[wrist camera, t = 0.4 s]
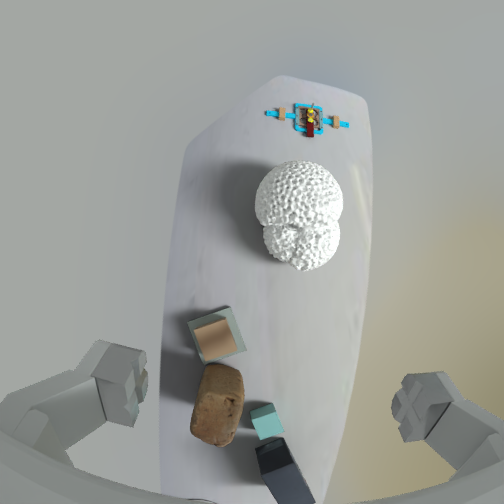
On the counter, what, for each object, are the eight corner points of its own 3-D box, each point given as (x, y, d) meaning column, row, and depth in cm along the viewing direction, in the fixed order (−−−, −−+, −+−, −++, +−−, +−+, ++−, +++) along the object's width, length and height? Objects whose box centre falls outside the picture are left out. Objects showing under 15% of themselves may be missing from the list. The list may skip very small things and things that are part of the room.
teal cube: (280, 421, 57) (284, 431, 52) (258, 429, 56) (260, 440, 51) (272, 402, 57) (276, 411, 52) (249, 410, 57) (251, 420, 52)
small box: (304, 475, 55) (317, 503, 43) (276, 486, 54) (285, 516, 42) (283, 436, 56) (294, 462, 45) (254, 447, 56) (259, 476, 44)
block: (208, 356, 58) (198, 386, 38) (244, 368, 58) (251, 402, 38) (193, 403, 56) (179, 448, 36) (228, 414, 56) (229, 462, 36)
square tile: (246, 349, 58) (246, 350, 57) (203, 363, 57) (203, 365, 56) (230, 306, 59) (230, 307, 58) (187, 321, 58) (186, 322, 57)
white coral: (231, 167, 54) (299, 164, 42) (296, 157, 64) (361, 156, 52) (245, 269, 61) (308, 292, 48) (304, 244, 71) (365, 258, 58)
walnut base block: (236, 345, 57) (237, 350, 52) (207, 355, 56) (205, 361, 52) (225, 317, 58) (225, 319, 53) (196, 327, 57) (193, 330, 52)
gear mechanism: (349, 145, 67) (346, 114, 68) (357, 135, 61) (353, 102, 63) (265, 134, 65) (266, 101, 67) (268, 122, 60) (269, 88, 61)
